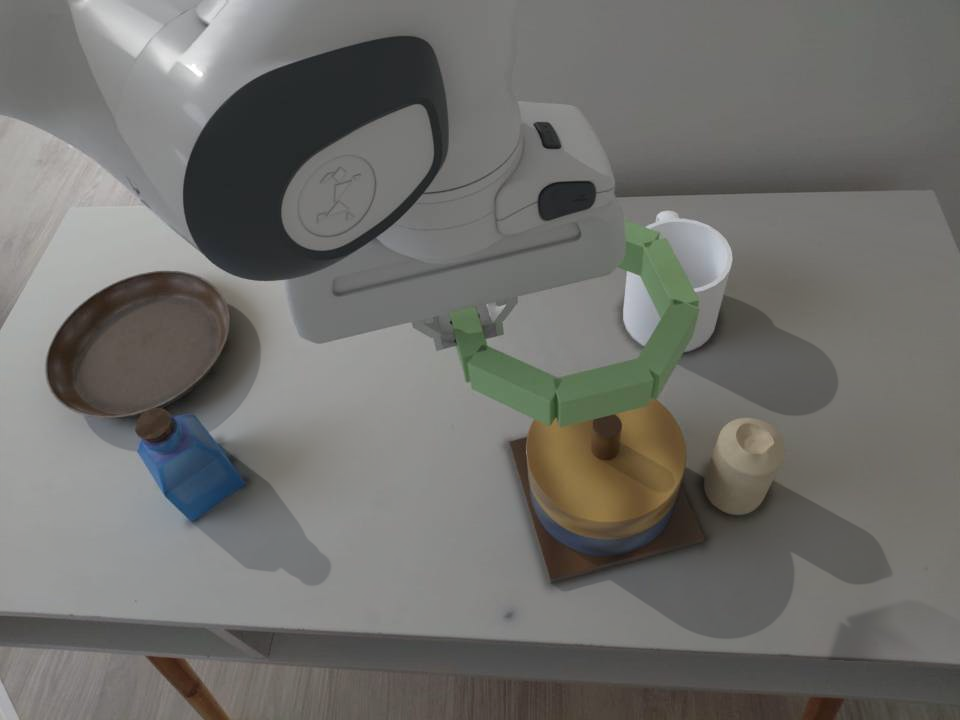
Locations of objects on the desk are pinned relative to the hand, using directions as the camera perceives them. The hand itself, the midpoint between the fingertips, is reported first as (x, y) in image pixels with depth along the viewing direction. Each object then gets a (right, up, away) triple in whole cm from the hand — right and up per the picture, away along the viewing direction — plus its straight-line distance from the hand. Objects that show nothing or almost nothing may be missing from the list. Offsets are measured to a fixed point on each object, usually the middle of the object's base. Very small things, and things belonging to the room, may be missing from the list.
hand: (468, 335), depth 51 cm
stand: (+12, -14, +21) cm, 29 cm away
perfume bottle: (-27, -14, +26) cm, 40 cm away
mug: (+22, +4, +33) cm, 40 cm away
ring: (+7, +2, 0) cm, 7 cm away
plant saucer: (-37, -1, +37) cm, 52 cm away
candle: (+25, -14, +21) cm, 35 cm away
